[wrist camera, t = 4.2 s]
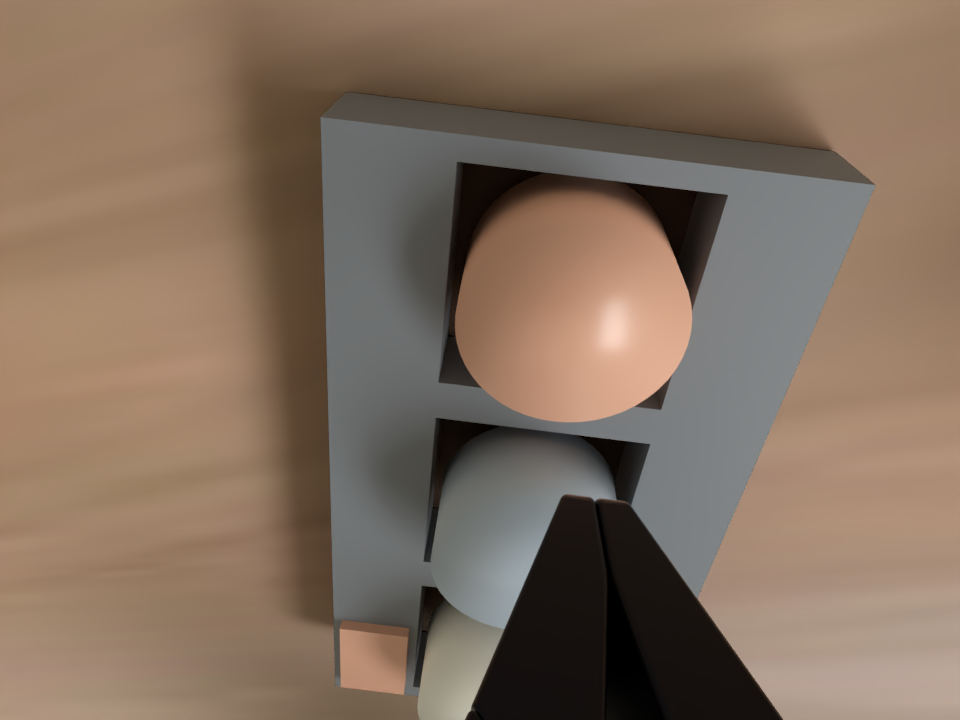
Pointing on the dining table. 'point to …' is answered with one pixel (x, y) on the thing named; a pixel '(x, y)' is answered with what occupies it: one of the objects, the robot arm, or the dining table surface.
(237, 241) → the dining table surface
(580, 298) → the terracotta button
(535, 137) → the button panel
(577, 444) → the slate button
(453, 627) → the cream button
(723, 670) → the robot arm
